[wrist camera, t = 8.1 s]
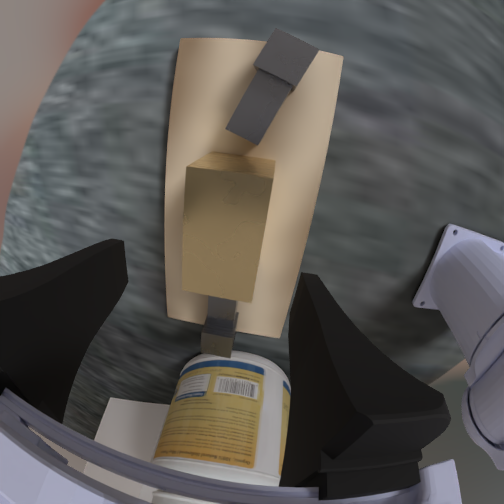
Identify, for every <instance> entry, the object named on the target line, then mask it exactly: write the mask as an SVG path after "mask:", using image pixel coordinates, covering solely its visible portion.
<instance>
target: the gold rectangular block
mask: <svg viewBox="0 0 504 504" xmlns="http://www.w3.org/2000/svg"><path fill="white" fill-rule="evenodd" d="M275 164H276V160H270V159H264V158H257V157H251V156H244V155H237V154H229V153H221V152H213V151H212V152H210V153H208V154H207V155H205V156H203V157H201V158H200V159H198V160H196V161H194V162H193V163H191V164H189V165H188V166H186V176H185V193H184V213H183V243H182V290H184V291H189V292H194V293H199V294H204V295H209V296H214V297H219V298H225V299H230V300H236V301H241V302H247V303H252V299H253V293H254V288H255V282H256V277H257V271H258V265H259V260H260V254H261V249H262V243H263V237H264V232H265V226H266V220H267V214H268V209H269V203H270V197H271V191H272V185H273V180H274V172H275Z"/></svg>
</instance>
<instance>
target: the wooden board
mask: <svg viewBox="0 0 504 504" xmlns="http://www.w3.org/2000/svg"><path fill="white" fill-rule="evenodd" d="M266 43H267V42H265V41H255V40H243V39H227V38H181V40H180V45H179V51H178V57H177V64H176V70H175V77H174V85H173V93H172V101H171V110H170V120H169V132H168V144H167V160H166V180H165V276H166V297H167V313H168V317H171V318H175V319H179V320H184V321H188V322H193V323H197V324H202V325H204V323H205V320H206V317H207V313H208V295H204V294H199V293H194V292H189V291H184V290H182V243H183V213H184V193H185V176H186V166H188V165H189V164H191V163H193V162H194V161H196V160H198V159H200V158H201V157H203V156H205V155H207V154H208V153H210V152H212V151H213V152H221V153H229V154H237V155H244V156H251V157H257V158H264V159H270V160H276V164H275V172H274V180H273V185H272V191H271V197H270V203H269V209H268V214H267V220H266V226H265V232H264V237H263V243H262V249H261V254H260V260H259V265H258V271H257V277H256V282H255V288H254V293H253V299H252V303H247V302H241V301H238V305H237V312H239V315H238V322H237V329H236V331H238V332H244V333H250V334H256V335H262V336H268V337H275V338H280V335H281V332H282V328H283V325H284V322H285V318H286V315H287V311H288V308H289V304H290V301H291V297H292V294H293V290H294V287H295V283H296V279H297V276H298V272H299V268H300V264H301V260H302V257H303V253H304V249H305V245H306V241H307V237H308V233H309V229H310V225H311V221H312V216H313V212H314V208H315V204H316V199H317V195H318V191H319V186H320V182H321V177H322V172H323V168H324V163H325V158H326V153H327V148H328V143H329V138H330V133H331V128H332V122H333V117H334V111H335V106H336V100H337V94H338V88H339V82H340V76H341V69H342V63H343V56H340V55H336V54H332V53H328V52H323V51H318V53H317V55H316V56H315V58H314V60H313V61H312V63H311V65H310V66H309V68H308V69H307V71H306V73H305V74H304V76H303V77H302V79H301V81H300V82H299V84H298V86H297V87H296V89H295V91H292V90H291V91H290V93H289V94H288V96H287V98H286V99H285V101H284V103H283V104H282V106H281V108H280V109H279V111H278V113H277V115H276V116H275V118H274V120H273V121H272V123H271V125H270V127H269V128H268V130H267V132H266V134H265V135H264V137H263V139H262V141H261V142H260V144H259V145H256V144H254V143H252V142H250V141H248V140H246V139H244V138H242V137H240V136H238V135H236V134H234V133H232V132H230V131H228V130H226V129H225V128H226V126H227V124H228V122H229V121H230V119H231V117H232V115H233V113H234V111H235V109H236V108H237V106H238V104H239V102H240V100H241V99H242V97H243V95H244V93H245V92H246V90H247V88H248V86H249V85H250V83H251V81H252V79H253V78H254V76H255V74H256V73H257V71H256V69H255V68H254V66H253V64H254V62H255V60H256V59H257V57H258V55H259V54H260V52H261V50H262V49H263V47H264V46H265V44H266Z"/></svg>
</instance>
